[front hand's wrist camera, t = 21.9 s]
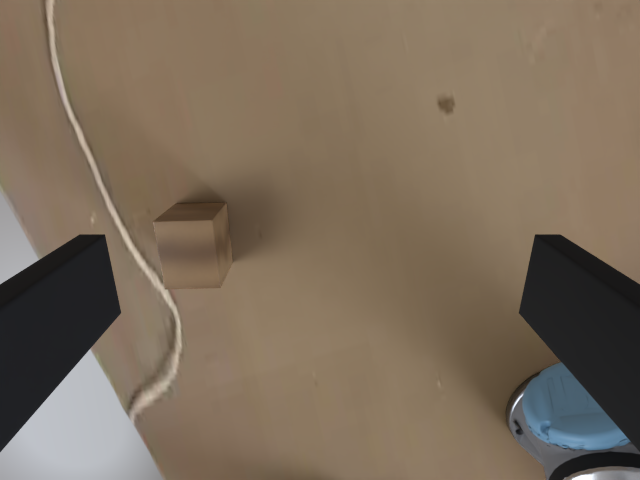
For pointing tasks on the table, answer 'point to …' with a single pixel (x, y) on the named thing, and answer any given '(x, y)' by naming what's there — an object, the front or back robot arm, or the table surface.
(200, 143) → the table surface
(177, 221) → the block
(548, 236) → the front robot arm
